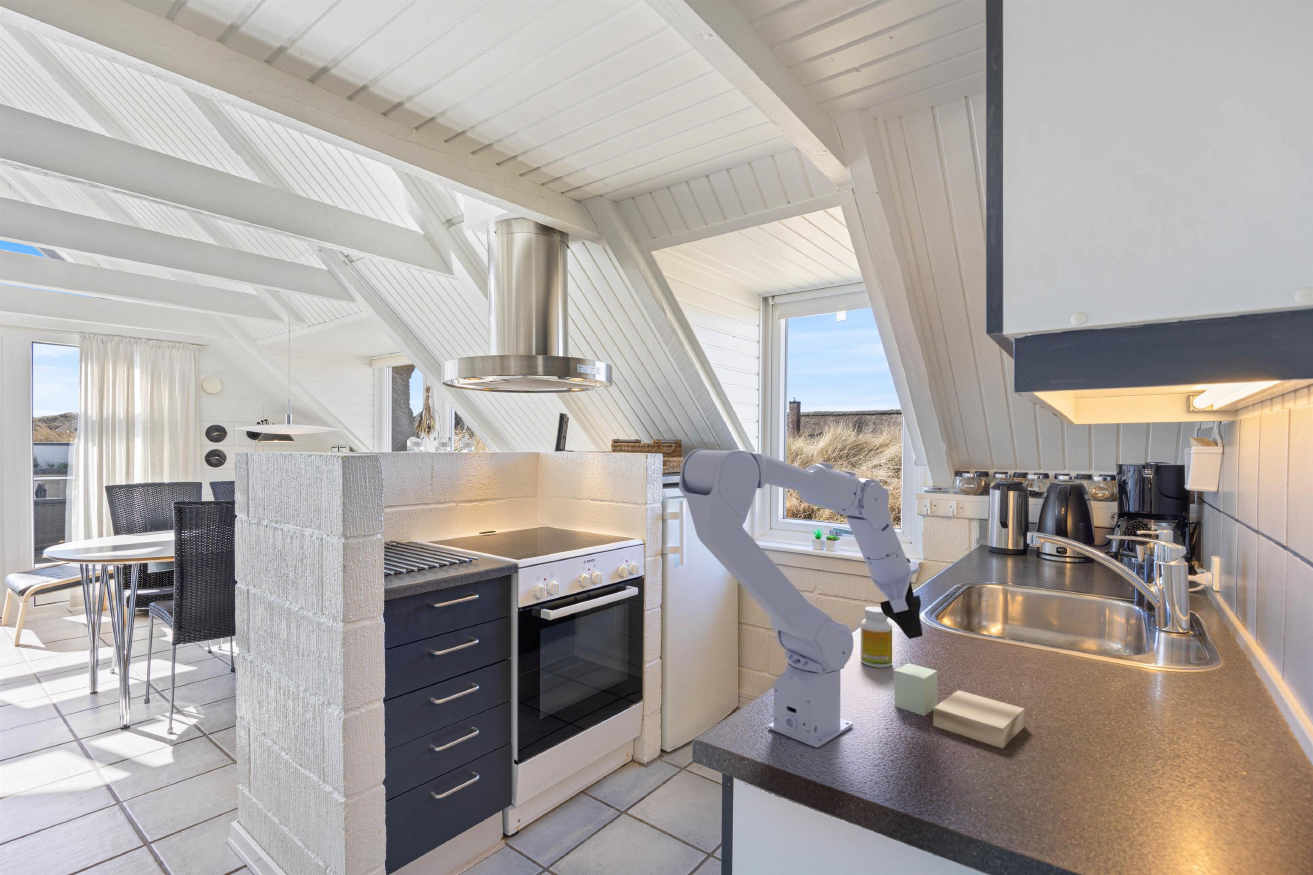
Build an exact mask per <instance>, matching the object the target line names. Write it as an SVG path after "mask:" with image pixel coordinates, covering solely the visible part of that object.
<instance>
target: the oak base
mask: <svg viewBox="0 0 1313 875" xmlns="http://www.w3.org/2000/svg"><path fill="white" fill-rule="evenodd" d="M932 712H933V715H932V718H933V720H932V724H933V725H932V726H933V727H936V728H939V729H941V730H942V729H943V730H945V731H948V732H951V733H954V734H957V735H960V736H963V737H966V738H968V739H969V738H970V739H973V740H975V741H978V742H981V743H985V744H988V745H990V746H993V747H996V748H1000V749H1004V748H1005V747H1006V746H1007V745H1008V743H1010V742H1011V741H1012V739H1014V737H1016V736H1017V735H1018V734H1019V733H1020V732H1021V731H1022V730H1023V729H1024V728H1025V712H1026V711H1025V708H1024V707H1021V706H1017V705H1013V704H1009V703H1006V702H1004V701H1003V702H1002V701H999V700H995V699H992V698H990V697H989V698H988V697H984V696H981V695H977V694H974V693H971V692H966V691H963V690H961V689H960V690H959V689H957V691H955V692H954V693H952V694H951V695H949V696H948V697H946V698H945V699H943V700H942V701H941V702H939V703H937V705H936V706H935V707H933V710H932Z"/></svg>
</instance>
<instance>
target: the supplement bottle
mask: <svg viewBox="0 0 1313 875" xmlns="http://www.w3.org/2000/svg"><path fill="white" fill-rule="evenodd" d="M864 617H865V618H864V619H863V620H861V622H860V661H861V663H862V664H864V665H866V666H868V667H871V668H876V669H877V668H878V669H880V668H881V669H882V668H884V669H885V668H889V667H891V666H892V665H893V625H892V623H891V622H890V620H888V619H889V617H887V616H885V614H884V613H883V612H882V609H881V606H866V607H865V608H864Z"/></svg>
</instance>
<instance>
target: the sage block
mask: <svg viewBox="0 0 1313 875" xmlns="http://www.w3.org/2000/svg"><path fill="white" fill-rule="evenodd" d="M936 705H938V670H936V669H932V668H928V667H924V666H921V665H917V664H912V663H910V662H909V663H908V662H907V663H906V664H904V665H902V666H900V667H898V668H896V669H895V670H894V707H895V706H896V707H895V708H898V707H899V708H898V709H902V710H905V711H907V710H908V712H911V713H914V712H915V713H914V714H917V715H921V716H923V717H925V716H926V715H928V714H929V713H930V712H933V707H935V706H936Z"/></svg>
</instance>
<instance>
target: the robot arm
mask: <svg viewBox="0 0 1313 875" xmlns="http://www.w3.org/2000/svg"><path fill="white" fill-rule="evenodd" d="M833 466H834V465H833V463H830V462H822V461H820V462H819V463H818V464H812V465H809V466H808V467H806V468H802V467H800V466H797V465H794V464H792V463H789V462H785V461H783V460H780V459H778V458H775V457H772V456H769V455H766V454H763V453H759V452H748V451H746V450H742V449H733V450H717V449H715V450H714V449H711V450H710V449H706V448H696V449H694V450H691V451H690V452H689V453H687V454H686V456H685V457H684V459H683V460H682V463H681V466H680V472H679V473H680V474H679V481H678V482H679V483H678V489H679V491H680V493H681V494H682V495H683V497H684V498H685V500H686V502H687V504H688V509H689V512H690V515H691V519H692V522H693V527H694V530H695V533H696V536H697V537H698V540H699V541H700V542H701V544H703V546H705V548H706V549H707V550H708V551H709V552H710V553H711V554H712V555H713V556H714V558H715V559H717V561H718V562H719V563H720V564H721V565H722V566H723V568H725V569H726V571H727V572H728V573H730V574H731V576H732V577H733V578H734V580H736V582H737V583H739V584H740V586H742V588H743V589H744V590H745V591H746V592H747V593H748V594H749V595H750V596H751V598H753V599H754V601H755V602H756V603H757V604H758V605H759V606H760V607H761V608H762V609H763V611H765V613H766V614H768V615H769V617H770V621H769V622H768V624H769V626H770V627H771V628H772V629H773V630H774V632H775V635H776V638H777V642H778V644H779V646H780V647H781V648H782V649H784V658H786V659H787V664H786V667H785V670H784V672H782V673H781V674H780V675H779V676H778V677H777V678H776V679H775V682H774V686H773V722H771V723H769V724H768V729H769V730H772V731H774V732H777V733H779V734H782V735H784V736H786V737H788V738H792V739H794V740H796V741H798V742H801V743H804V744H806V745H809V746H811V747H813V748H820V747H821V746H823V745H824V744H826V743H828V742H829V741H831V740H832V739H834V738H836V737H837V736H839V735H840V734H843V733H844V732H846V731H847V730H848V729H851V728H852V727H853V726H854V723H853V721H850V720H847V719H845V718H842V717H841V670H843V669H845V665H847V663H848V662H849V660H850V659H851V657H852V655H853V650H854V644H855V642H854V637H853V633H852V631H851V629H850V628H849V627H848V625H846V624H845V623H842V622H839V621H835V620H834V619H833V618H832V617H831V616H830V614H828V613H827V612H825V611H824V610H822V609H820V608H819V607H817V606H815V605H814V604H812V602H810V601H809V600H807V598H805V596H804V595H803V593H801V592H800V591H799V589H798V588H797V587H796V586H795V585H794V584H793V582H791V580H790V579H789V578H788V577H787V576H786V575H785V574H784V572H783V571H782V570H781V569H780V568H779V567H778V565H777V564H776V563H775V562H774V561H773V559H771V558H770V556H769V555H768V554H767V553H766V552H765V551H764V550H763V549H762V547H760V545H759V544H758V543H757V541H755V539H754V538H753V537H752V536H751V535H750V534H749V532H747V531H746V529H745V528H744V527H743V525H744V524H745V523H746V520H747V517H748V514H749V512H750V509H751V506H752V503H753V501H754V498H755V495H756V492H757V491H758V490H757V489H764V487H765V486H766V485H770V486H774V487H778V488H782V489H786V490H791V491H796V492H797V493H798V495H799V497H800V499H801V501H802V502H804V503H805V504H807V505H811V506H814V507H818V508H823V509H824V510H830V511H833V512H834V513H835V514H836V515H843V516H845V519H846V521H847V523H848V526H849V528H850V530H851V532H852V535H853V537H854V538H855V541H856V544H857V546H858V548H859V550H860V552H861V555H862V558H863V559H864V561H865V563H866V566H867V568H868V570H869V572H870V575H871V581H872V583H873V585H874V586H875V587H876V588H877V589H878V590H879V591H880V592H881V593H882V594H883V595H884V596H885V598H886V599H888V600H885V601H880V602H879V603H880V607H881V609H882V612H883V613H884V614H885V616H887V617H888V619H891V620H892V621H893V622H894V623H896V625H898V627H899V628H900V630H901V631H902V632H903V634H904V635H905V636H906V638H908V639H909V640H911V639H915V638H919V637H923V636H924V635H923V634H924V633H923V627H922V623H921V618H920V610H921V606H922V602H921V597H920V595H919V594H917V595H915V594H914V590H913V585H912V578H913V576H914V574H918V573H919V572H920V567H919V563H918V562H916V561H914V562H913V561H912V562H911V560H910V559H909V558H907V557H906V554H905V552H904V550H903V547H902V545H901V542H900V539H899V538H898V535H897V533H896V530H895V528H894V525H893V523H892V517H891V516H892V514H891V511H890V509H889V505H890V504H889V502H890V493H889V489H888V488H887V487H884V486H883V485H882V484H881V483H880V482H879V481H878V480H876V479H873V478H872V479H871V478H861V477H860V478H859V477H858V476H856V472H854V471H849V470H845V471H840V470H837V469H833Z"/></svg>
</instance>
